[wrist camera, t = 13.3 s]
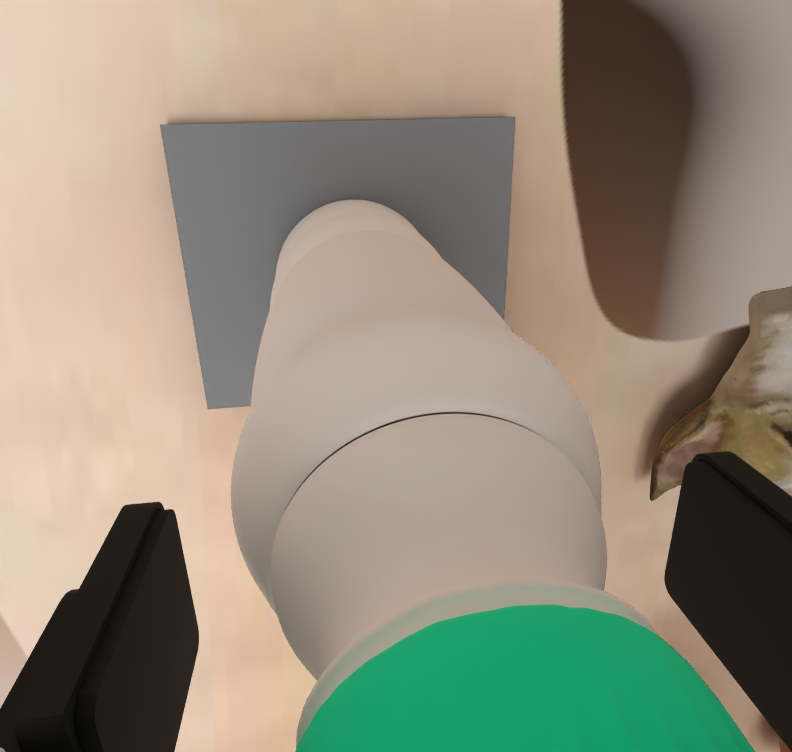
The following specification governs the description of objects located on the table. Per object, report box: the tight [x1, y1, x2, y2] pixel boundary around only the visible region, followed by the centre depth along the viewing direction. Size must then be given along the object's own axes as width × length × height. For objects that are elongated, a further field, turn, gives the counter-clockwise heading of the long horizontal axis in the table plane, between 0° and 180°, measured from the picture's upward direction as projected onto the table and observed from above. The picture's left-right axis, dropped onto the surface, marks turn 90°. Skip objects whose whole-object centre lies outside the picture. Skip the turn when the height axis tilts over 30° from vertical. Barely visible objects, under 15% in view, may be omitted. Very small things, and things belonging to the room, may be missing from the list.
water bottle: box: [231, 200, 755, 752], centre depth 16 cm, size 7×7×25 cm
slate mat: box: [160, 117, 515, 409], centre depth 28 cm, size 15×13×1 cm
